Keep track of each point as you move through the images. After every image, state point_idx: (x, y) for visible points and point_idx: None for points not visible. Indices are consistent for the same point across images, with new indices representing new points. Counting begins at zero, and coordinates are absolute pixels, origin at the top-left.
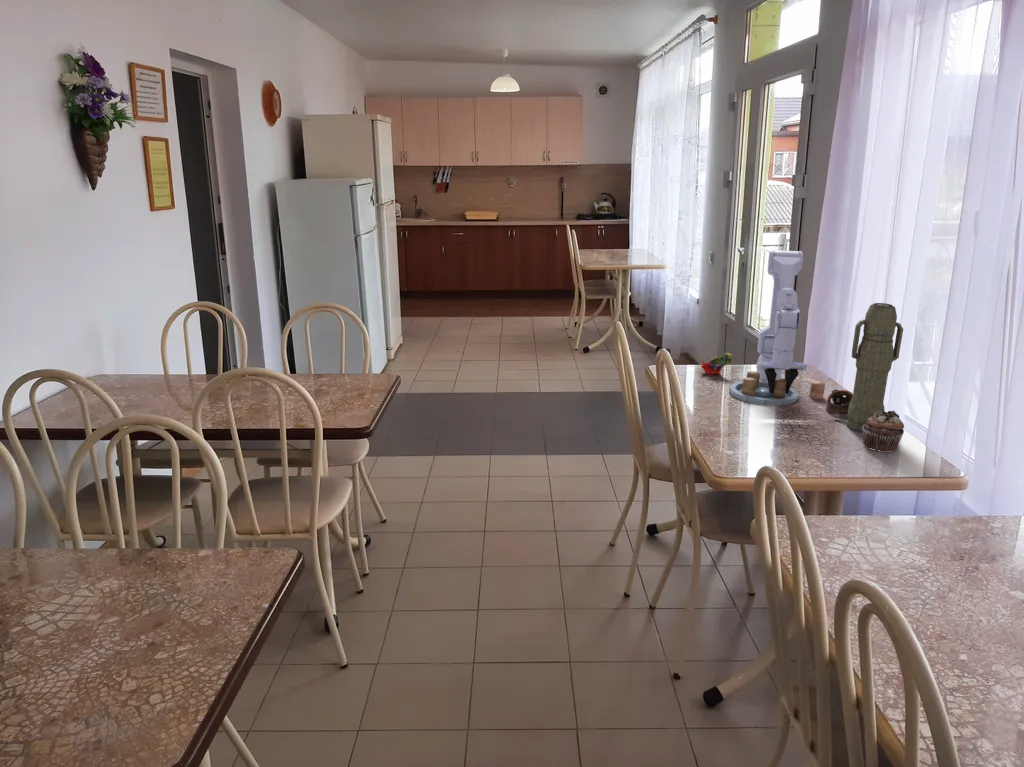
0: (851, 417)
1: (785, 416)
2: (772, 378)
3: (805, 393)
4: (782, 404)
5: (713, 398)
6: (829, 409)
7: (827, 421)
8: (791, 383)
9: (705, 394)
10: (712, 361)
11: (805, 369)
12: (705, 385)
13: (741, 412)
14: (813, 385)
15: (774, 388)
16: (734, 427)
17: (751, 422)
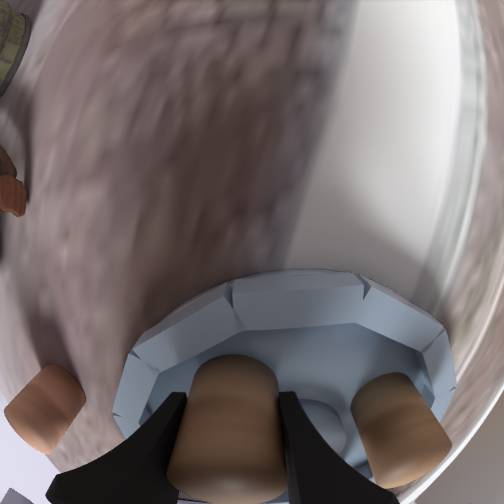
0: (3, 12)
1: (258, 109)
2: (334, 477)
3: (102, 444)
4: (230, 288)
5: (485, 362)
6: (5, 173)
7: (57, 82)
8: (132, 438)
9: (480, 394)
10: None
11: (10, 496)
12: None
13: (475, 184)
14: (40, 425)
15: (276, 418)
16: (491, 24)
17: (450, 44)
